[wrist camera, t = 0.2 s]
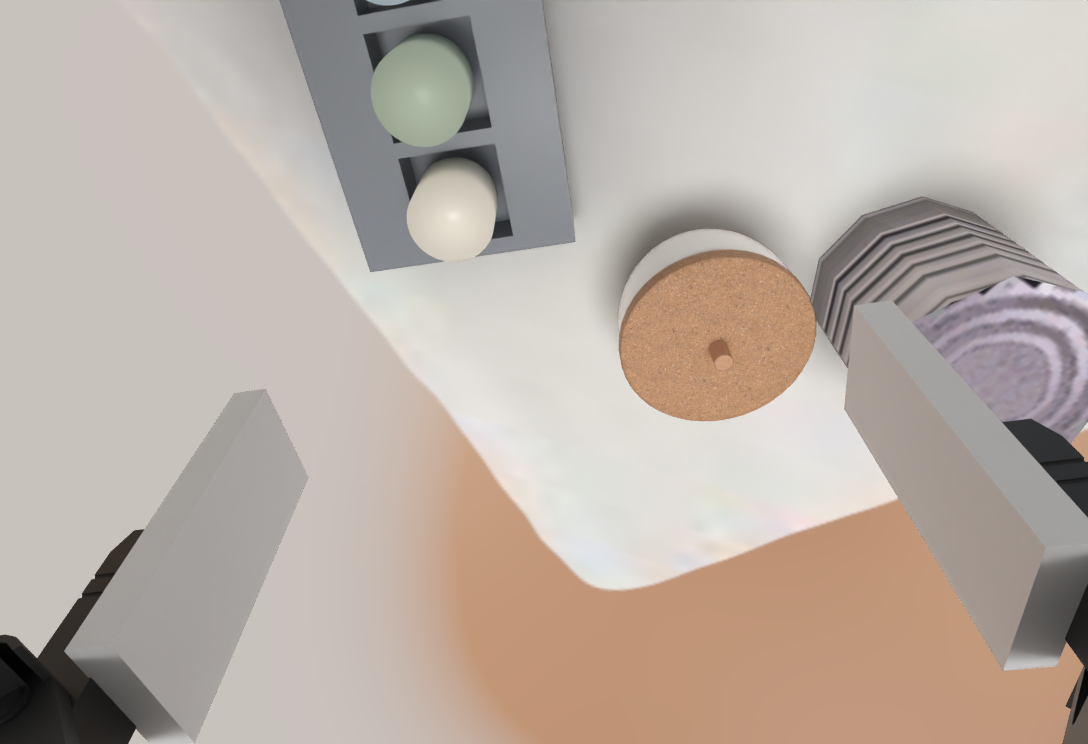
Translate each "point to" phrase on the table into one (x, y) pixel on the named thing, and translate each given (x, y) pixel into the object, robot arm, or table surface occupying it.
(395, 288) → the table surface
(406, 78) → the sage button
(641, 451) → the table surface
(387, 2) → the pale blue button
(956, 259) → the can
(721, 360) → the lidded jar
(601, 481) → the table surface
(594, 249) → the table surface
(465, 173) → the cream button
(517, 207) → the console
